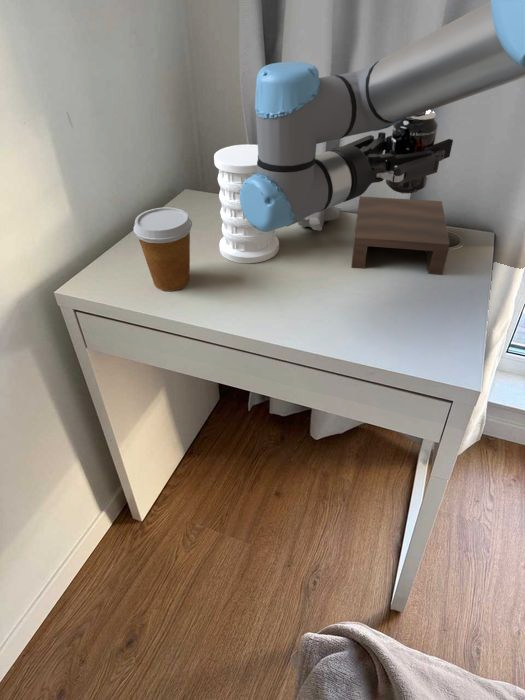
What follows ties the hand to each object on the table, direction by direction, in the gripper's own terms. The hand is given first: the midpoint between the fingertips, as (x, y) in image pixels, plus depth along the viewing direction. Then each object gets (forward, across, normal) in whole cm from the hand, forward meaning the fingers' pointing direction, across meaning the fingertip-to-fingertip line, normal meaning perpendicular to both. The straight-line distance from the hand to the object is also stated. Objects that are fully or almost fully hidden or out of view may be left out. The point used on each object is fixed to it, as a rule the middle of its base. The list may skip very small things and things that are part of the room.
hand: (429, 142), depth 84 cm
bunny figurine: (-7, -19, -20) cm, 29 cm away
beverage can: (-5, 0, -7) cm, 8 cm away
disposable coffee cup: (-41, -20, -20) cm, 50 cm away
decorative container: (-24, -20, -20) cm, 37 cm away
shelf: (-2, -2, -20) cm, 20 cm away
